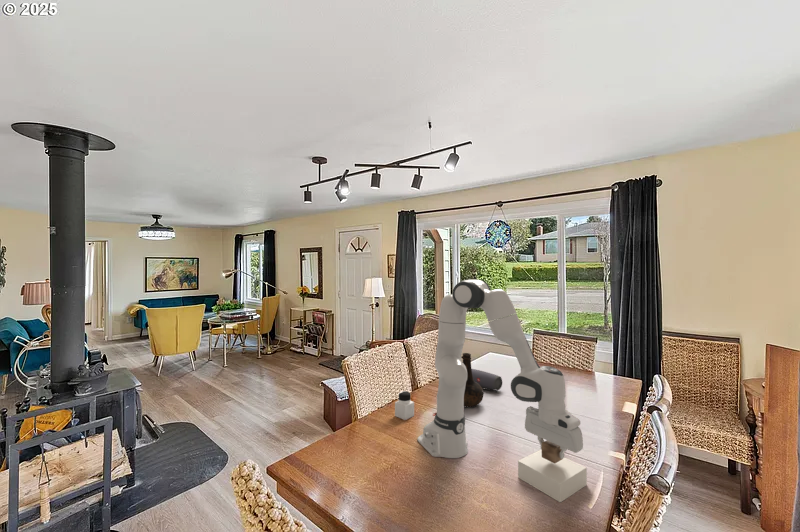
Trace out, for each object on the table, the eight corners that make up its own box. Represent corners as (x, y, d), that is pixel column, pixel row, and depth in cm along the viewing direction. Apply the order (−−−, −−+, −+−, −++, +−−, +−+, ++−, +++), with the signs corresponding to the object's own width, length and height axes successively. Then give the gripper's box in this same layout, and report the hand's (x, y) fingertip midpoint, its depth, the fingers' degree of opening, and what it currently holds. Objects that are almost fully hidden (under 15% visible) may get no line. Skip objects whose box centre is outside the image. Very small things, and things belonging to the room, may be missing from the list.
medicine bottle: (414, 415, 176) (414, 392, 176) (405, 420, 171) (405, 396, 171) (404, 411, 181) (404, 388, 181) (394, 416, 176) (394, 392, 176)
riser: (518, 477, 124) (518, 460, 124) (544, 463, 133) (544, 447, 133) (560, 502, 111) (560, 483, 111) (586, 485, 120) (586, 467, 120)
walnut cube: (541, 457, 123) (541, 442, 123) (549, 452, 126) (549, 438, 126) (554, 463, 119) (554, 449, 119) (563, 458, 122) (562, 444, 122)
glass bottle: (478, 398, 200) (478, 349, 200) (487, 411, 182) (487, 357, 182) (448, 398, 199) (448, 349, 200) (453, 411, 182) (453, 357, 182)
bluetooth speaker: (463, 384, 223) (463, 369, 223) (472, 381, 230) (472, 366, 230) (494, 394, 207) (494, 377, 207) (502, 390, 213) (502, 374, 213)
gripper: (521, 406, 129) (521, 443, 129) (575, 427, 112) (575, 470, 112) (531, 402, 133) (531, 439, 133) (585, 422, 116) (585, 463, 116)
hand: (552, 453), depth 122 cm, fingers closed on walnut cube, 5 cm apart
